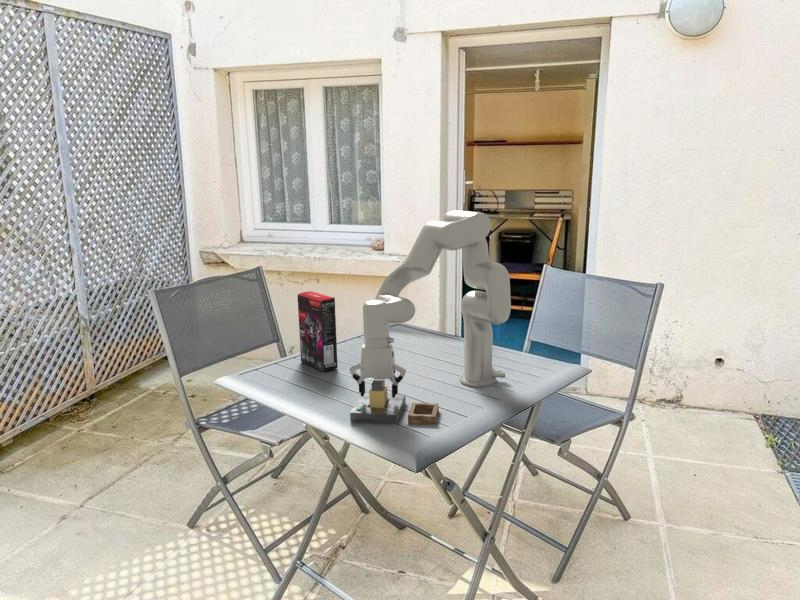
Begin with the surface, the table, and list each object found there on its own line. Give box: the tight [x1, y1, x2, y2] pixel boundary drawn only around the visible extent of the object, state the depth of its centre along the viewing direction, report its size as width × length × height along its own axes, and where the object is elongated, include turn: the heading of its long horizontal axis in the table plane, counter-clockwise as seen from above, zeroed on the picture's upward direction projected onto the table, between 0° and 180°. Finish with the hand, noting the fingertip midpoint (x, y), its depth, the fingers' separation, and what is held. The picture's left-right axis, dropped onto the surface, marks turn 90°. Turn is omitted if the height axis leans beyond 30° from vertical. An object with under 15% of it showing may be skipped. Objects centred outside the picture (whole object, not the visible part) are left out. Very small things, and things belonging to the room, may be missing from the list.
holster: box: [407, 402, 440, 426], centre depth 179 cm, size 8×10×2 cm
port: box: [349, 391, 407, 425], centre depth 183 cm, size 14×16×3 cm
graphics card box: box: [297, 290, 338, 372], centre depth 223 cm, size 17×7×27 cm, turn 40°
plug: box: [368, 379, 388, 408], centre depth 182 cm, size 4×6×10 cm
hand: (378, 395), depth 182 cm, fingers open, 9 cm apart
